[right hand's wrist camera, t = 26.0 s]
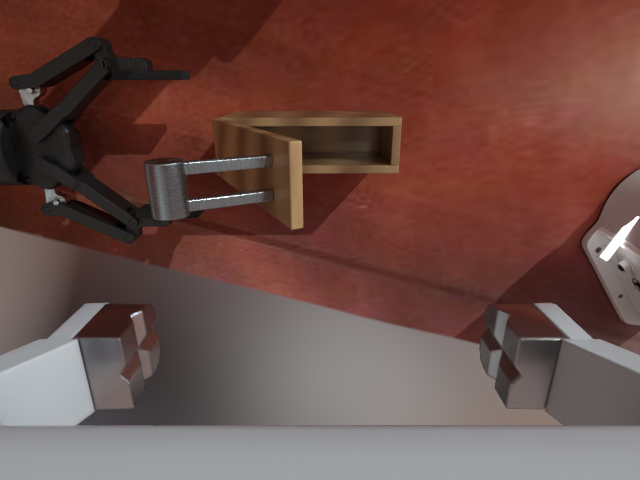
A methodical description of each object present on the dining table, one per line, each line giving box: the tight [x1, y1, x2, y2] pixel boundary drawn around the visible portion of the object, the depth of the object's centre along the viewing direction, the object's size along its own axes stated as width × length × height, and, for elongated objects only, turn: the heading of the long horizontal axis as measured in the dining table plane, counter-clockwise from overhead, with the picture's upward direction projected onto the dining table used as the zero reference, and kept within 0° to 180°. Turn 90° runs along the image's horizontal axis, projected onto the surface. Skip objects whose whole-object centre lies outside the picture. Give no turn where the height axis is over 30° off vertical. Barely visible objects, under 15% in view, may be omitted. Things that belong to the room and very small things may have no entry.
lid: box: [144, 118, 303, 230], centre depth 30 cm, size 18×5×8 cm
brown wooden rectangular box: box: [220, 111, 402, 174], centre depth 44 cm, size 17×5×10 cm, turn 90°
